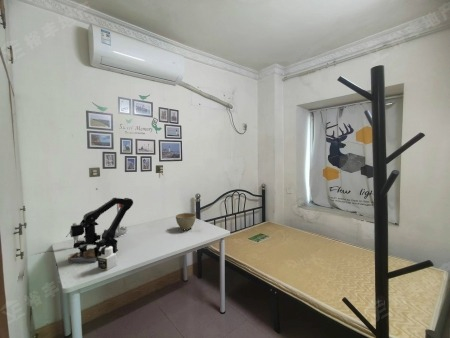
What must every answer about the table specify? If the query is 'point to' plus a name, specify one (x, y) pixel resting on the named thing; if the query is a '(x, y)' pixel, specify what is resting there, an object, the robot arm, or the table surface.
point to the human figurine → (75, 236)
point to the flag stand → (119, 230)
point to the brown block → (90, 253)
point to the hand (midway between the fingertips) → (91, 256)
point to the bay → (82, 258)
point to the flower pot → (185, 220)
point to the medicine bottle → (107, 258)
